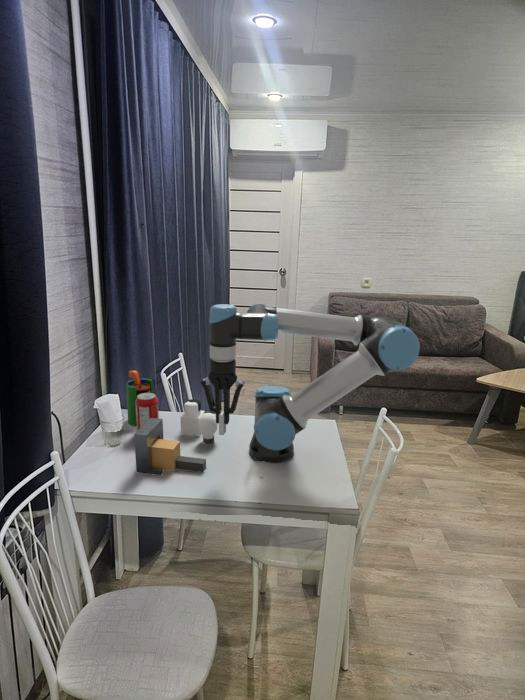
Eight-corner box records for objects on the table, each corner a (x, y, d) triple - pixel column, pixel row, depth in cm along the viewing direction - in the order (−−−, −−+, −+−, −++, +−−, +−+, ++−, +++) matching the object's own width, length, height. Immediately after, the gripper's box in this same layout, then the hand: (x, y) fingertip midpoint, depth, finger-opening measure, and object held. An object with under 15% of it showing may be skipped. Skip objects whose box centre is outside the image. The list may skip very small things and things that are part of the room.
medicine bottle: (186, 426, 168) (186, 396, 165) (205, 427, 167) (204, 398, 164) (180, 434, 161) (179, 404, 158) (199, 436, 160) (199, 405, 157)
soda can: (140, 440, 156) (138, 401, 152) (134, 432, 162) (132, 393, 158) (162, 436, 160) (160, 397, 156) (155, 427, 166) (154, 390, 162)
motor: (144, 427, 166) (142, 377, 161) (123, 424, 168) (119, 375, 162) (156, 416, 176) (154, 368, 170) (135, 414, 177) (132, 367, 172)
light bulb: (221, 440, 157) (221, 412, 154) (210, 448, 152) (210, 419, 149) (205, 436, 160) (205, 408, 157) (194, 443, 155) (194, 414, 152)
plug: (207, 465, 141) (207, 444, 139) (202, 474, 136) (201, 452, 134) (157, 459, 144) (156, 438, 142) (150, 468, 138) (148, 446, 136)
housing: (175, 456, 146) (174, 420, 142) (160, 475, 135) (159, 436, 131) (152, 453, 147) (151, 417, 144) (136, 472, 136) (134, 433, 132)
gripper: (247, 356, 130) (246, 430, 136) (205, 353, 132) (205, 425, 138) (241, 364, 123) (240, 441, 129) (196, 360, 125) (197, 436, 131)
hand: (222, 432), depth 134 cm, fingers closed
